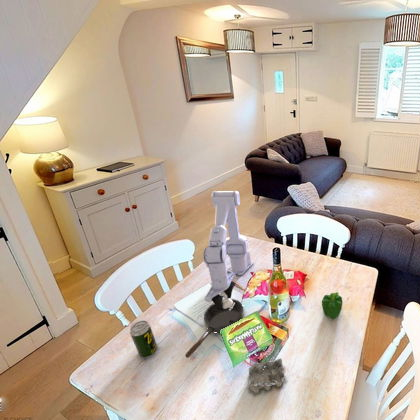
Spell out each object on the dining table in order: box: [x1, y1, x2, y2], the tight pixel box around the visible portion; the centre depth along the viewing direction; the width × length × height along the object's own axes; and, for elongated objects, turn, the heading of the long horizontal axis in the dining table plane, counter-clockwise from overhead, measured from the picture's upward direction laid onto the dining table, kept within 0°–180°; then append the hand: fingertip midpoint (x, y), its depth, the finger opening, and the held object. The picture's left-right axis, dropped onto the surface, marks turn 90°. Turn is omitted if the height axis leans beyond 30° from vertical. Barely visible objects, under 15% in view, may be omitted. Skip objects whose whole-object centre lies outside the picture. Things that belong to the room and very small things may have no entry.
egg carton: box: [248, 358, 285, 394], centre depth 83 cm, size 11×8×4 cm
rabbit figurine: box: [211, 291, 235, 311], centre depth 103 cm, size 6×4×8 cm
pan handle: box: [184, 327, 213, 359], centre depth 92 cm, size 12×2×2 cm, turn 161°
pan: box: [203, 298, 245, 335], centre depth 104 cm, size 14×14×4 cm
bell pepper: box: [321, 291, 343, 320], centre depth 106 cm, size 8×8×10 cm
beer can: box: [129, 320, 158, 359], centre depth 89 cm, size 5×5×12 cm
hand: (223, 303), depth 103 cm, fingers closed on rabbit figurine, 4 cm apart
